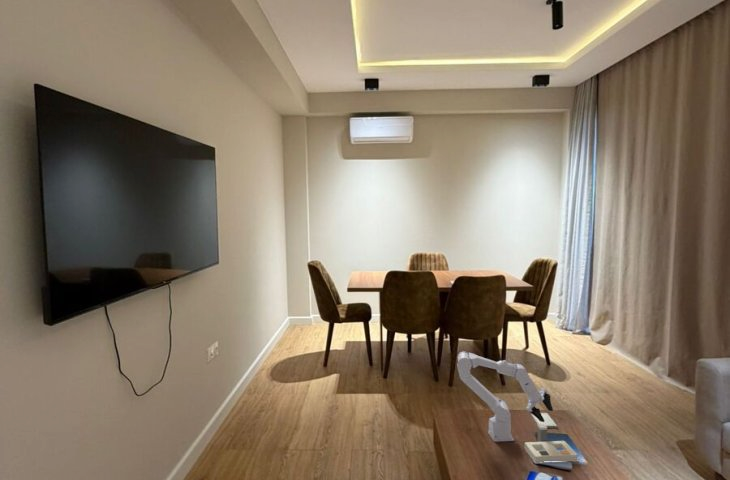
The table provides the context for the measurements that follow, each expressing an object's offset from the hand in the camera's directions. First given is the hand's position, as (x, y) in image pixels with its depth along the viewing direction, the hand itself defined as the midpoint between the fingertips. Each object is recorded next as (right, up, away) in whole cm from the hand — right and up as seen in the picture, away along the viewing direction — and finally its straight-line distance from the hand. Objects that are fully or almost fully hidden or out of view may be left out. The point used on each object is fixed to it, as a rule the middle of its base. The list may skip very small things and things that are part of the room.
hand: (546, 415), depth 172 cm
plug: (-2, -12, -1) cm, 12 cm away
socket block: (-3, -12, -10) cm, 16 cm away
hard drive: (+7, -12, +17) cm, 22 cm away
